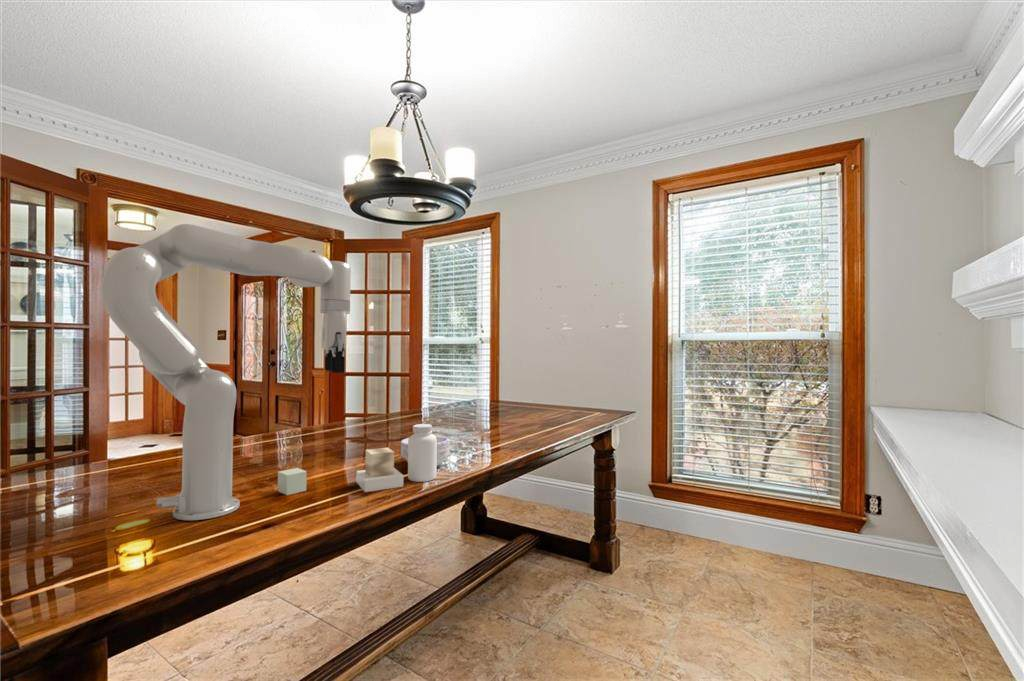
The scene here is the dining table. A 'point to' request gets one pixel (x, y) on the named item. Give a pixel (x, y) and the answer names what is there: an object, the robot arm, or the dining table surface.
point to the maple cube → (379, 462)
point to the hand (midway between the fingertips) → (334, 371)
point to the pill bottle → (422, 454)
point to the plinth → (379, 481)
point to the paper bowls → (442, 448)
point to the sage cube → (292, 481)
